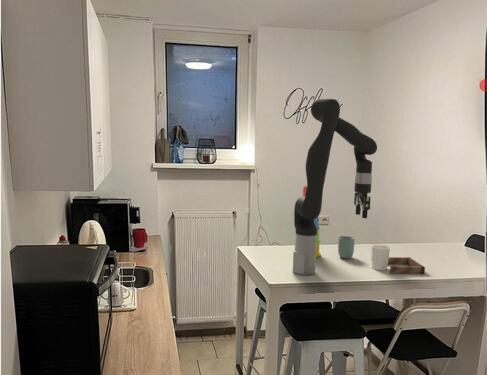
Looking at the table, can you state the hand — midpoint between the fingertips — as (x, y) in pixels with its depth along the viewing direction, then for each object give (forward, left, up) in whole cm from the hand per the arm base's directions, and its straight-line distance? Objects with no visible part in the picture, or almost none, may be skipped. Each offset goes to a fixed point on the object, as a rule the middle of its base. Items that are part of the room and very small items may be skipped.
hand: (361, 216), depth 200 cm
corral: (+6, -18, -22) cm, 29 cm away
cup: (+1, +8, -22) cm, 24 cm away
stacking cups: (-9, +22, -22) cm, 32 cm away
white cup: (-2, -12, -22) cm, 25 cm away
